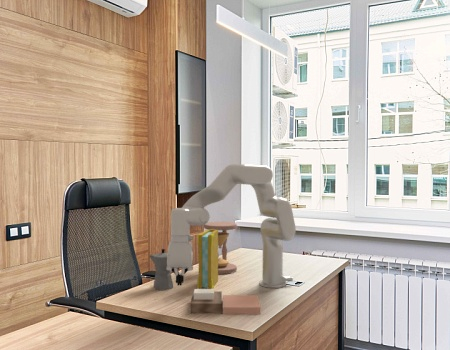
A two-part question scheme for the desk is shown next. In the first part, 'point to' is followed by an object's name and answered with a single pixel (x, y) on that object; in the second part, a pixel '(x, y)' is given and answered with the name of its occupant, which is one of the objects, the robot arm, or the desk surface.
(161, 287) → the coffeepot
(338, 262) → the desk surface
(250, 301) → the mat
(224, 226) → the hourglass
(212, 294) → the tile
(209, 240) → the book
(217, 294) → the deck
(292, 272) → the desk surface
